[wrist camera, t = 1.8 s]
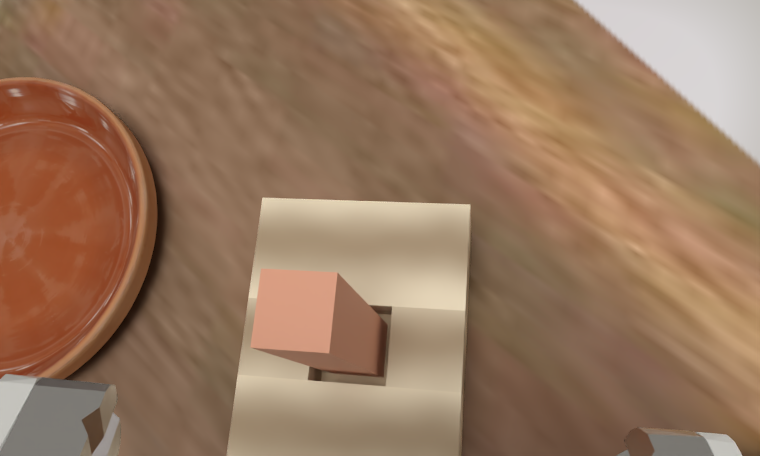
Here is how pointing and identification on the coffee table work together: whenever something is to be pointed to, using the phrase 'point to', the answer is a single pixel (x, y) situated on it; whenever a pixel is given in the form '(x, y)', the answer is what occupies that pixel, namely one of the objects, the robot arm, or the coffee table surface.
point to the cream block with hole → (392, 303)
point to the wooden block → (318, 323)
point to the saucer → (67, 226)
